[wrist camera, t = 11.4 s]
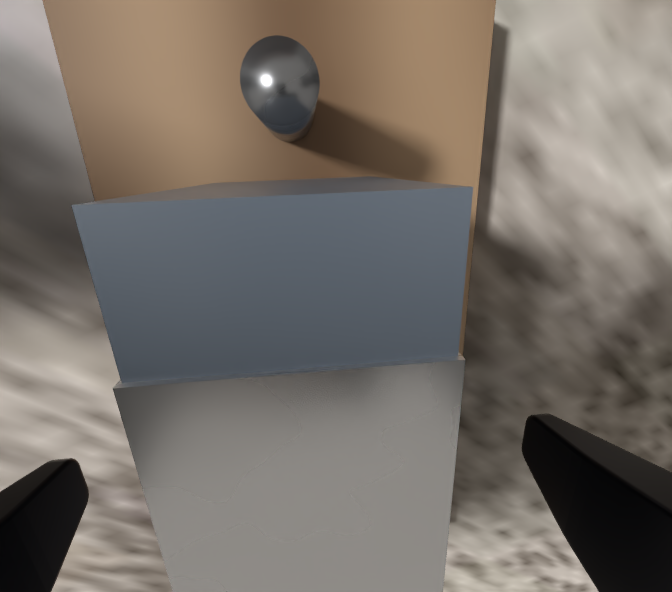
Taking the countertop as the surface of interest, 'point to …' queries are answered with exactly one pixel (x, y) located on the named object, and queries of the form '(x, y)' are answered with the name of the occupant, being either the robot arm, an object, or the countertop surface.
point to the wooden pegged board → (276, 91)
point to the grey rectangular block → (289, 375)
